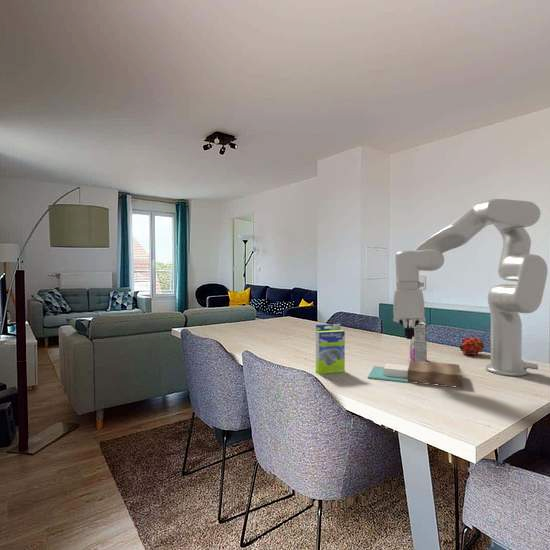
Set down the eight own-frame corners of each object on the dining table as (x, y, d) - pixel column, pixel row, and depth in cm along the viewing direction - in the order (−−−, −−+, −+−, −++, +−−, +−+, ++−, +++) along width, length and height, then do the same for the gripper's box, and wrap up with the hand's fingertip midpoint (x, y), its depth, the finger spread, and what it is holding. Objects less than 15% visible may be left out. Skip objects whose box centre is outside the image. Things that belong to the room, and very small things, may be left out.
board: (458, 376, 128) (458, 364, 128) (461, 388, 115) (462, 375, 115) (410, 371, 134) (410, 360, 134) (407, 382, 121) (407, 370, 121)
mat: (410, 370, 135) (410, 369, 135) (407, 382, 121) (407, 381, 121) (374, 367, 140) (374, 366, 140) (367, 378, 126) (367, 376, 126)
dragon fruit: (485, 357, 160) (463, 363, 157) (471, 343, 166) (449, 349, 163) (493, 344, 155) (470, 350, 151) (478, 330, 161) (456, 336, 158)
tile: (409, 372, 131) (409, 365, 131) (407, 378, 124) (407, 370, 124) (386, 370, 134) (386, 363, 134) (383, 375, 128) (383, 368, 127)
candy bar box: (408, 358, 154) (408, 319, 153) (421, 358, 152) (421, 319, 152) (413, 365, 143) (413, 323, 142) (427, 365, 142) (427, 323, 141)
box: (319, 374, 131) (318, 326, 130) (314, 371, 135) (314, 324, 134) (345, 372, 134) (345, 325, 133) (340, 369, 138) (340, 323, 137)
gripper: (431, 285, 128) (433, 337, 128) (386, 286, 134) (388, 336, 134) (431, 286, 121) (433, 341, 121) (384, 287, 127) (386, 340, 127)
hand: (409, 338), depth 128 cm, fingers closed
